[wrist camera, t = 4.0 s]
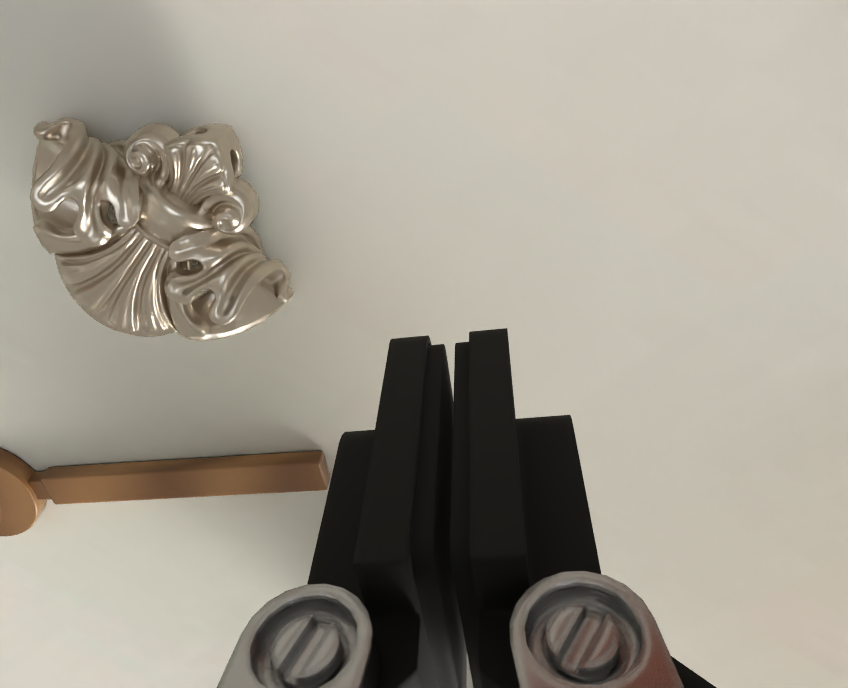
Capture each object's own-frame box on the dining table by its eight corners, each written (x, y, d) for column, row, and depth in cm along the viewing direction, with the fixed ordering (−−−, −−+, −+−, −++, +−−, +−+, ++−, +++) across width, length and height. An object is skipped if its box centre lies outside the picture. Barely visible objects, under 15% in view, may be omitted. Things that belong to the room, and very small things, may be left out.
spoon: (313, 417, 25) (309, 432, 24) (339, 506, 27) (335, 521, 27) (-119, 446, 28) (-134, 461, 27) (-62, 525, 30) (-74, 540, 29)
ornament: (361, 202, 21) (340, 259, 17) (242, 351, 24) (207, 420, 21) (110, 12, 18) (35, 39, 15) (16, 205, 21) (-62, 259, 18)
